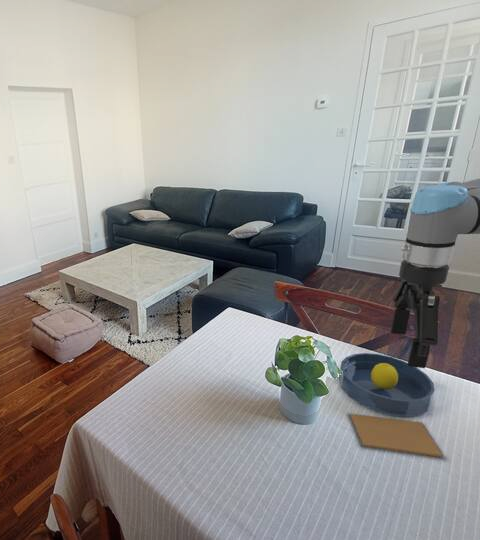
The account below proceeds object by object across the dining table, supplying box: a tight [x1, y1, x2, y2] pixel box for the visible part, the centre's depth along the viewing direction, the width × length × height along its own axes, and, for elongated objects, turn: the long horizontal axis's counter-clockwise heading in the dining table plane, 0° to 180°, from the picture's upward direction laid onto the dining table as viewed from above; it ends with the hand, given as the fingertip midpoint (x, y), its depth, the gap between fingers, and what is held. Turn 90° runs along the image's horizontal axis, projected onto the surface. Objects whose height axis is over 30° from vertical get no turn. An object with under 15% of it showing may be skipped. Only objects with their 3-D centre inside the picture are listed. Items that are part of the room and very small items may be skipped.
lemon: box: [371, 363, 398, 390], centre depth 88 cm, size 6×6×8 cm
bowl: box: [338, 352, 436, 418], centre depth 88 cm, size 19×19×5 cm
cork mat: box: [350, 413, 443, 458], centre depth 76 cm, size 14×9×1 cm, turn 73°
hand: (406, 348), depth 77 cm, fingers open, 13 cm apart
